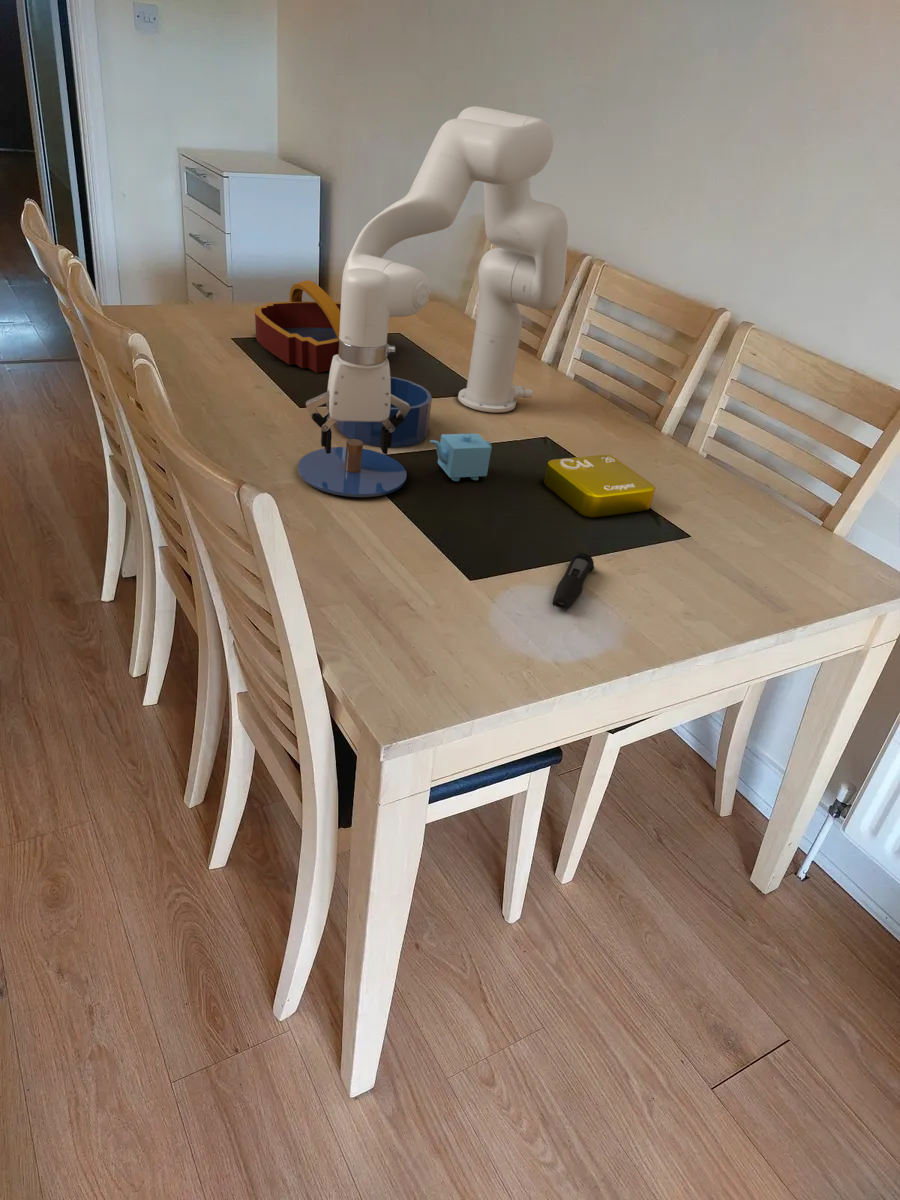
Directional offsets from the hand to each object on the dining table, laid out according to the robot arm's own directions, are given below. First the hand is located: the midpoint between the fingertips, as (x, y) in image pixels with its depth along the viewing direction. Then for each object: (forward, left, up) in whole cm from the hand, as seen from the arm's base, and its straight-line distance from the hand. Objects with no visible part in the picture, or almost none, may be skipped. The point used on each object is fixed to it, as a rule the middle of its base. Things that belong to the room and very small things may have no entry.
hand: (355, 450), depth 148 cm
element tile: (-43, +7, -5) cm, 44 cm away
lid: (0, 0, -4) cm, 4 cm away
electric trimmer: (-27, +37, -5) cm, 46 cm away
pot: (-9, -21, -5) cm, 23 cm away
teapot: (-19, -1, -5) cm, 19 cm away
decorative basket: (-2, -68, -5) cm, 68 cm away
